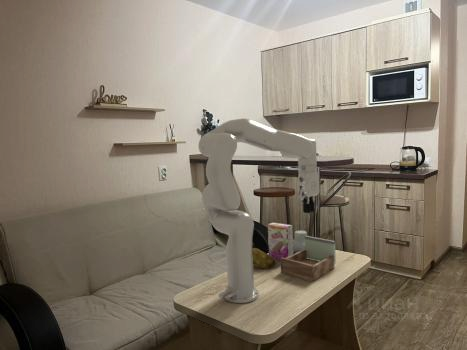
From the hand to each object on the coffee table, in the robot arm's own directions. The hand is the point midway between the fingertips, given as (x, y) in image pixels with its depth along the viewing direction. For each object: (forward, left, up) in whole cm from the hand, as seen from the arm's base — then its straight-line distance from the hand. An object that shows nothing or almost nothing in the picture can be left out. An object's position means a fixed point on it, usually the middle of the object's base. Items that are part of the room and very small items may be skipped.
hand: (308, 211), depth 146 cm
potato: (-11, +19, -25) cm, 34 cm away
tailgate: (+7, 0, -24) cm, 25 cm away
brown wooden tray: (-2, 0, -25) cm, 25 cm away
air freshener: (+17, +16, -25) cm, 35 cm away
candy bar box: (+3, +18, -25) cm, 31 cm away
